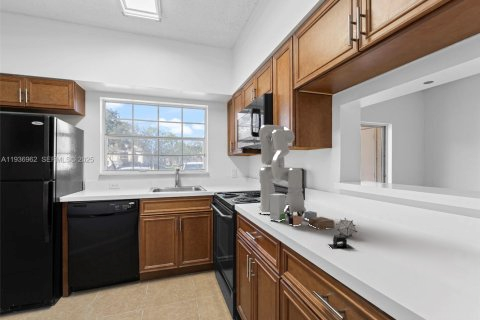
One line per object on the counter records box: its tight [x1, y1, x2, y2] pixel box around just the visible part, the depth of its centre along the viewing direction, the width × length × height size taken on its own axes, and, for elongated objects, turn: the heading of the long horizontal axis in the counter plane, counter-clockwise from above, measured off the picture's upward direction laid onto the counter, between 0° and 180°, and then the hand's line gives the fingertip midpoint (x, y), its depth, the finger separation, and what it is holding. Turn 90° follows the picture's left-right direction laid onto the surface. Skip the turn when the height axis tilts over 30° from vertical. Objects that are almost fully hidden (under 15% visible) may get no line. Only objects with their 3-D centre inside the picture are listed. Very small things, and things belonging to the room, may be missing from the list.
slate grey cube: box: [303, 210, 318, 219], centre depth 136 cm, size 5×5×5 cm
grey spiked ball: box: [335, 217, 358, 239], centre depth 105 cm, size 9×8×10 cm
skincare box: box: [269, 193, 287, 220], centre depth 135 cm, size 8×7×16 cm
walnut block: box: [308, 216, 335, 230], centre depth 121 cm, size 9×9×4 cm
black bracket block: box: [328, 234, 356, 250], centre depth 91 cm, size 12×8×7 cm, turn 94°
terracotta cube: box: [287, 214, 303, 225], centre depth 124 cm, size 5×5×5 cm
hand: (295, 223), depth 124 cm, fingers closed on terracotta cube, 5 cm apart
